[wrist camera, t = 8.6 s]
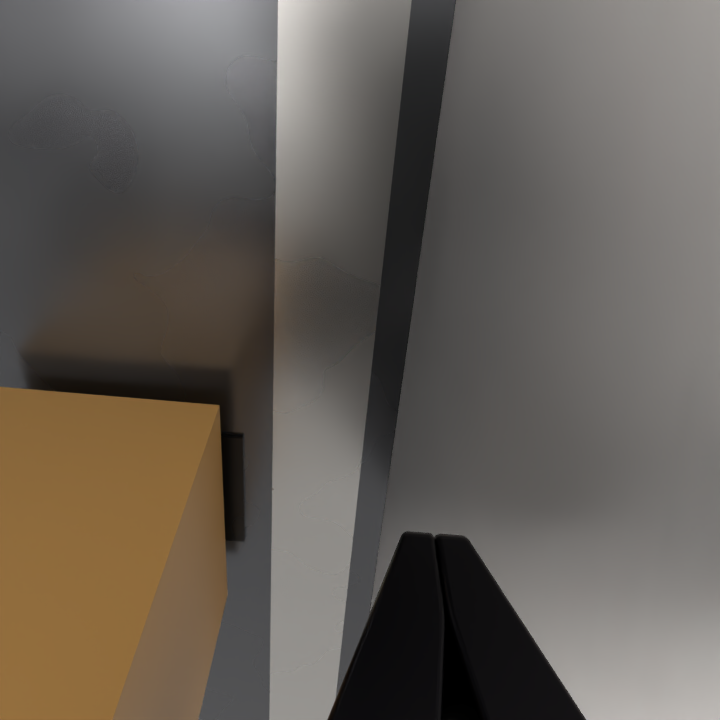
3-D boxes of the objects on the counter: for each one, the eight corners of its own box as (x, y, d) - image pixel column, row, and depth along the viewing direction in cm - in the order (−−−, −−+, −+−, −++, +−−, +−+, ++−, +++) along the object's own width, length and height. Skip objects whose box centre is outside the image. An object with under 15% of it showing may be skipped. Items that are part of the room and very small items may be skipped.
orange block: (227, 594, 10) (150, 924, 7) (41, 579, 10) (-127, 904, 7) (219, 405, 8) (105, 739, 5) (-12, 385, 8) (-288, 712, 5)
